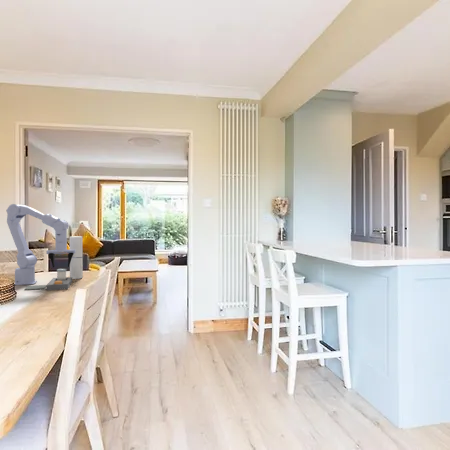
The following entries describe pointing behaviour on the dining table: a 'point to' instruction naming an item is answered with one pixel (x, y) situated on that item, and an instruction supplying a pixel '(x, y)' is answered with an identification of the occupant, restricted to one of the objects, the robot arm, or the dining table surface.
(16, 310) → the dining table surface
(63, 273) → the cylinder
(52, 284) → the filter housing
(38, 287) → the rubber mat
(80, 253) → the cylindrical container
